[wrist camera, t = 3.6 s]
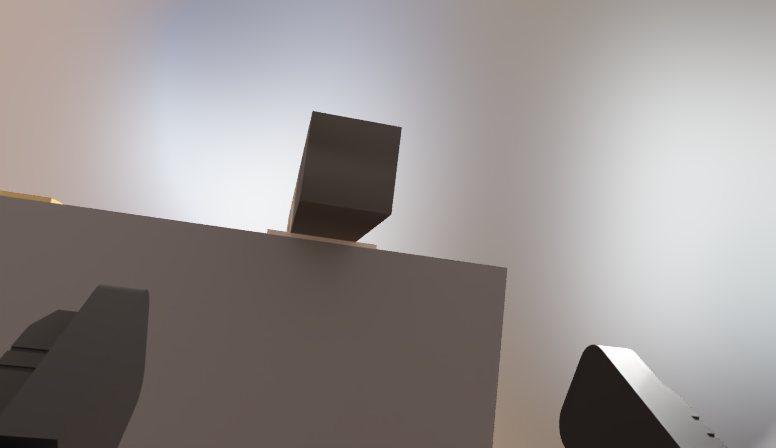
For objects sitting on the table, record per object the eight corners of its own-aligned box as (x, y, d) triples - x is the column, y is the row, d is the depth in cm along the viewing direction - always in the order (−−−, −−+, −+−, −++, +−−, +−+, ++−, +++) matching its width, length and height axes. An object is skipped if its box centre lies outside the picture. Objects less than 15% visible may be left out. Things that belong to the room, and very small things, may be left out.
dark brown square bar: (391, 214, 19) (401, 127, 19) (299, 200, 18) (312, 110, 19) (326, 264, 40) (331, 222, 41) (282, 258, 40) (288, 216, 40)
